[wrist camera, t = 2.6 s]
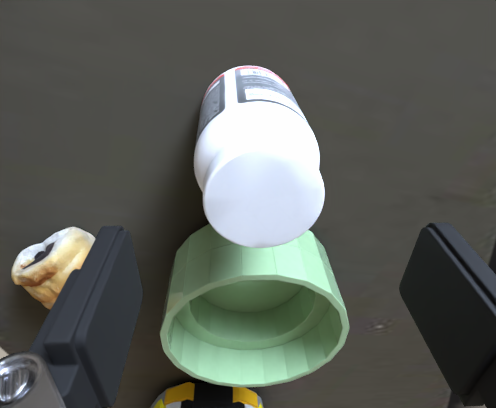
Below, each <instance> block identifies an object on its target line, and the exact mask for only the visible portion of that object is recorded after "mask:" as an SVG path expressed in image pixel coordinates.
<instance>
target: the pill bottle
mask: <svg viewBox="0 0 496 408" xmlns="http://www.w3.org/2000/svg"><path fill="white" fill-rule="evenodd" d="M319 163H320V156H319V149H318V144H317V141H316V138H315V136H314V134H313V131H312V129H311V128H310V126H309V124H308V122H307V121H306V119H305V117H304V115H303V113H302V111H301V110H300V108H299V106H298V104H297V102H296V100H295V99H294V97H293V95H292V93H291V91H290V89H289V87H288V86H287V85H286V84H285V82H284V81H283V80H282V79H281V78H280V77H279V76H277V75H276V74H274V73H273V72H271V71H269V70H267V69H265V68H261V67H257V66H241V67H236V68H233V69H231V70H228V71H226V72H224V73H223V74H221V75H220V76H219V77H217V78H216V79H215V80H214V81H213V82H212V84H211V85H210V86H209V88H208V89H207V91H206V93H205V95H204V98H203V101H202V105H201V110H200V118H199V124H198V130H197V138H196V145H195V151H194V171H195V176H196V179H197V182H198V185H199V187H200V189H201V190H202V192H203V208H204V212H205V215H206V217H207V220H208V221H209V223H210V224H211V226H212V227H213V228H214V229H215V231H216V232H217V233H219V234H220V235H221V236H222V237H224V238H225V239H227V240H229V241H231V242H233V243H235V244H238V245H242V246H245V247H251V248H268V247H274V246H279V245H282V244H285V243H288V242H290V241H292V240H294V239H296V238H298V237H299V236H301V235H302V234H303V233H305V232H306V231H307V230H308V229H309V228H310V227H311V226H312V225H313V224H314V223H315V221H316V220H317V218H318V216H319V214H320V212H321V210H322V207H323V203H324V193H325V192H324V184H323V181H322V178H321V175H320V172H319Z"/></svg>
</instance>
